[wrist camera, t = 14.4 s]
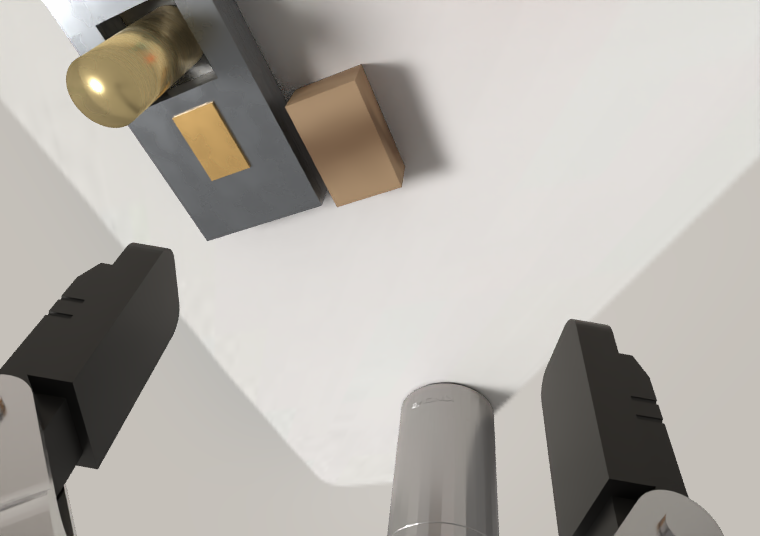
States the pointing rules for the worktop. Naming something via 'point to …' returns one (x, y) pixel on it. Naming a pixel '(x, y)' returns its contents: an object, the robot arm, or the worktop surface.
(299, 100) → the brown rectangular block
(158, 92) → the brass peg
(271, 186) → the flange plate
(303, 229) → the worktop surface
